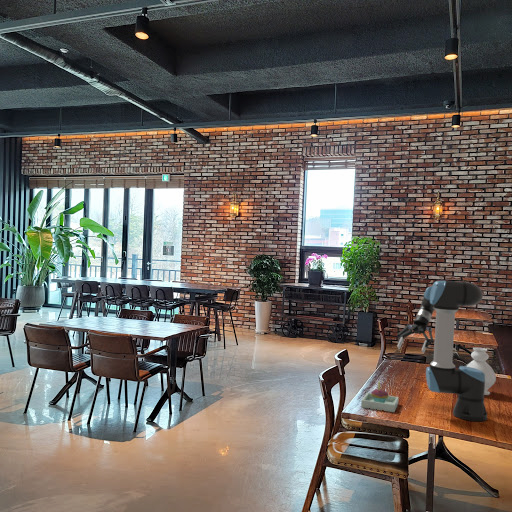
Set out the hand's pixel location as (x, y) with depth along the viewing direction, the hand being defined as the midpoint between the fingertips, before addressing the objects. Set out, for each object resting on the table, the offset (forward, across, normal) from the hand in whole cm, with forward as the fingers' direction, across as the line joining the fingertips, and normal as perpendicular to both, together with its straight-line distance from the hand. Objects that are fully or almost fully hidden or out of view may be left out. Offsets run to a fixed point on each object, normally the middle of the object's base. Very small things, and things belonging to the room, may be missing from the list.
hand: (410, 349), depth 276 cm
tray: (+37, +4, 0) cm, 37 cm away
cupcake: (+36, +4, +1) cm, 37 cm away
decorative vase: (-12, -23, -49) cm, 56 cm away
